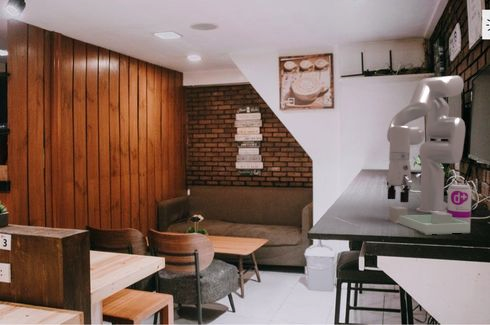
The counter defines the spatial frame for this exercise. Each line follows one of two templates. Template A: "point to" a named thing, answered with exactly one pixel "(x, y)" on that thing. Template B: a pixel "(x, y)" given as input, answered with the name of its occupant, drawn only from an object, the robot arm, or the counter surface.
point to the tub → (433, 225)
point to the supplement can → (459, 202)
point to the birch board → (391, 220)
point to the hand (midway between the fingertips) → (397, 200)
